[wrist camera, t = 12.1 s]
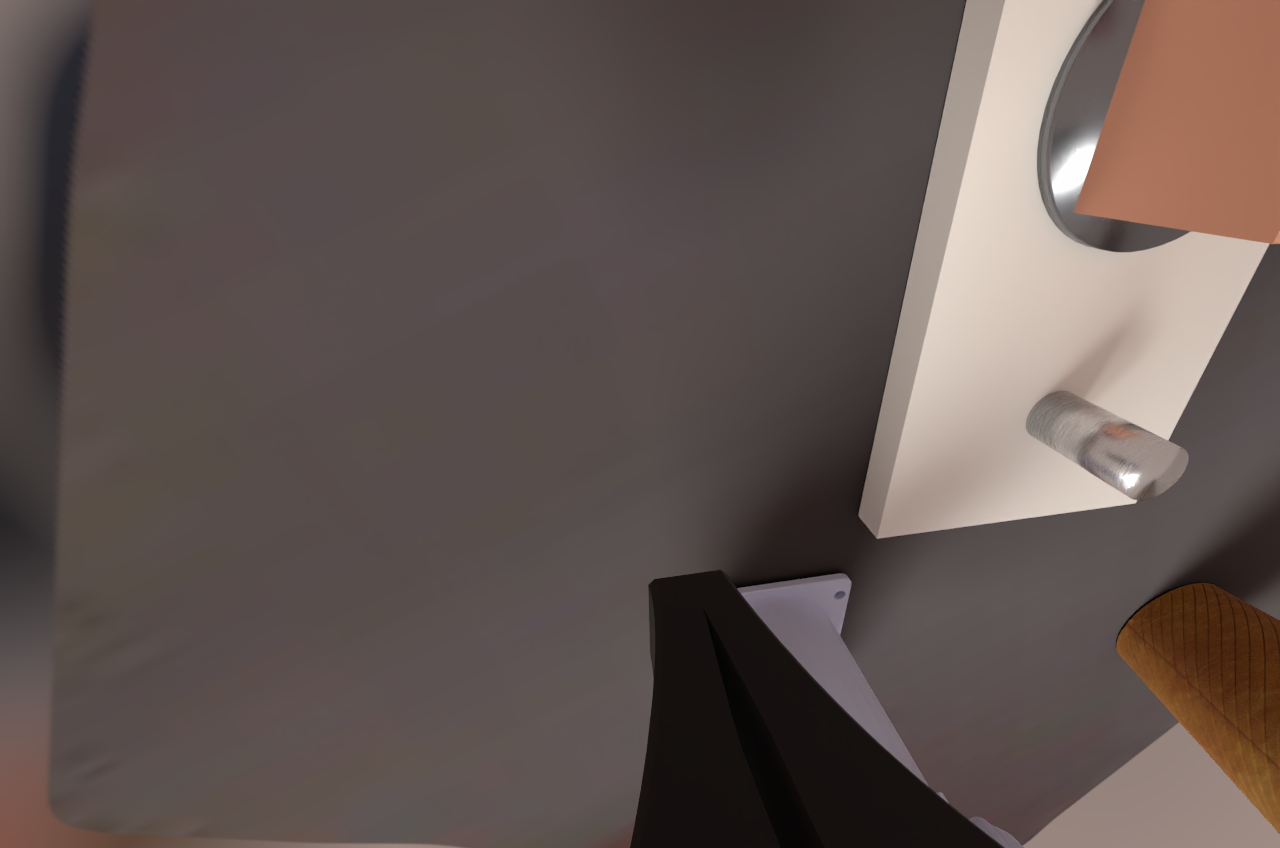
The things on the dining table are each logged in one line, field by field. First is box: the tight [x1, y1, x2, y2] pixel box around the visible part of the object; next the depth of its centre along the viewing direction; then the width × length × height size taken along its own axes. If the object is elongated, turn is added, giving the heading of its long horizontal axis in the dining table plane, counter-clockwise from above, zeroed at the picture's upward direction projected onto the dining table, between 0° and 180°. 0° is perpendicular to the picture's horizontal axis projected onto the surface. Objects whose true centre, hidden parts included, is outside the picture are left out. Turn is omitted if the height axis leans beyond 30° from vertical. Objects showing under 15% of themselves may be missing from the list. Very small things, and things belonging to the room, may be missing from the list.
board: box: [858, 0, 1269, 539], centre depth 18 cm, size 20×12×2 cm, turn 2°
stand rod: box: [1026, 390, 1188, 500], centre depth 18 cm, size 2×2×4 cm
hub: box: [1037, 0, 1191, 252], centre depth 14 cm, size 8×8×4 cm
